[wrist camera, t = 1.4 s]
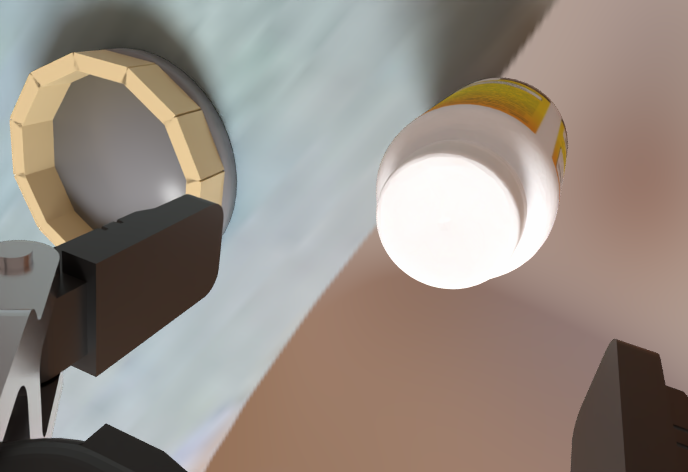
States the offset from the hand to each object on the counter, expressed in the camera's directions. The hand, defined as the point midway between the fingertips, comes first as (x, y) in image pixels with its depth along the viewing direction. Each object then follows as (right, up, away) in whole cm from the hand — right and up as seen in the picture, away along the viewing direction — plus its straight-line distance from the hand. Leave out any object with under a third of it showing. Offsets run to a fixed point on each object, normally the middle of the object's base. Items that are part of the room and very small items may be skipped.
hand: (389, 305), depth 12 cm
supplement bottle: (+6, +5, +13) cm, 15 cm away
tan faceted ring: (-12, +5, +20) cm, 24 cm away
